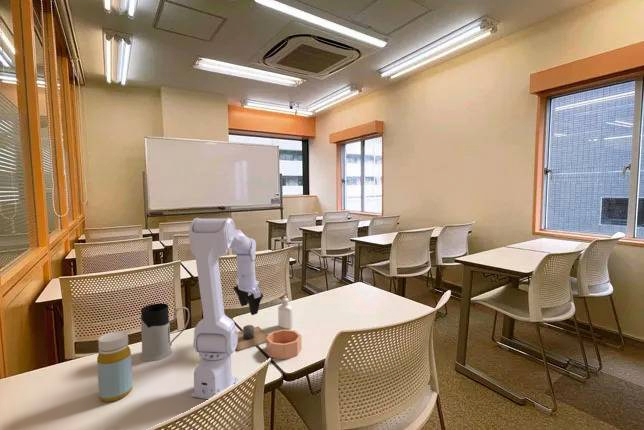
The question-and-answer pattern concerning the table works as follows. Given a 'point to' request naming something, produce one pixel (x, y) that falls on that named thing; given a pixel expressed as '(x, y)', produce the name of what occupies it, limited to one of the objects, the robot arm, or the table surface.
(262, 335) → the lid
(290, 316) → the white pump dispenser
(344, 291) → the table surface
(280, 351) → the bowl
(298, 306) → the table surface
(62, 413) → the table surface
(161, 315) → the glass holder
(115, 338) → the bottle
